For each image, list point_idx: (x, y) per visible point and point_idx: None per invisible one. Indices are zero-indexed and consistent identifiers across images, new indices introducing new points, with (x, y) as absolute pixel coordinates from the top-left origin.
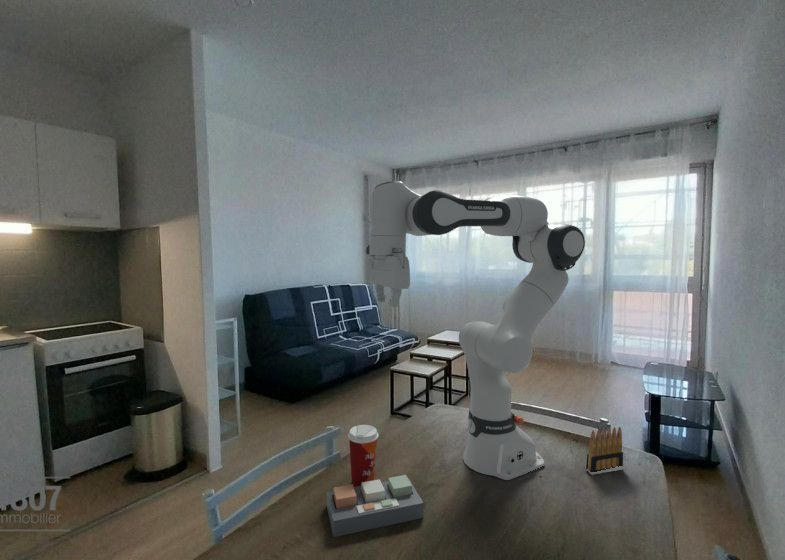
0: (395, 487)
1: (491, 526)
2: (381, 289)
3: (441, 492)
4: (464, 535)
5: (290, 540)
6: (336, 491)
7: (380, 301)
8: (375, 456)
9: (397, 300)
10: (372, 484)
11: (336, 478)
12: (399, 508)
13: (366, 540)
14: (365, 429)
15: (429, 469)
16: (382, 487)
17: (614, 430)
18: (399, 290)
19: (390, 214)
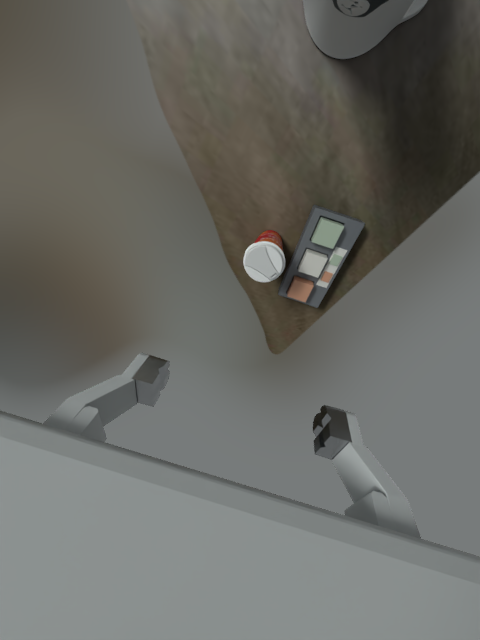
0: (332, 245)
1: (441, 152)
2: (100, 407)
3: (347, 164)
4: (416, 197)
5: (296, 323)
6: (294, 297)
7: (167, 375)
8: (279, 243)
9: (357, 444)
10: (309, 263)
11: None
12: (349, 251)
13: (339, 282)
14: (262, 260)
15: (297, 139)
16: (321, 258)
17: None
18: (404, 523)
19: None
